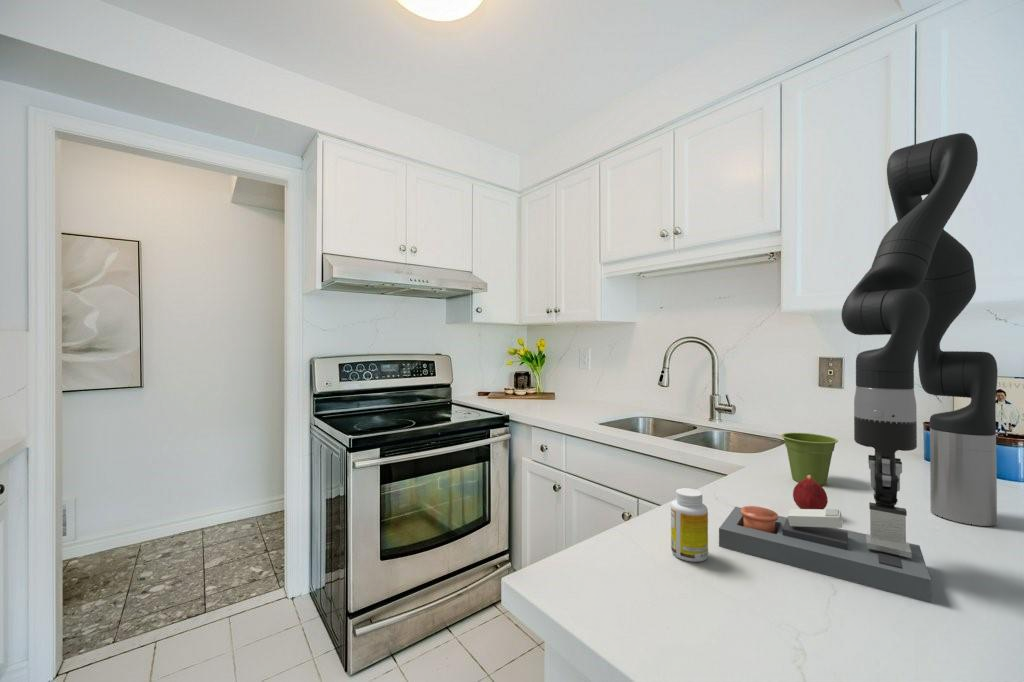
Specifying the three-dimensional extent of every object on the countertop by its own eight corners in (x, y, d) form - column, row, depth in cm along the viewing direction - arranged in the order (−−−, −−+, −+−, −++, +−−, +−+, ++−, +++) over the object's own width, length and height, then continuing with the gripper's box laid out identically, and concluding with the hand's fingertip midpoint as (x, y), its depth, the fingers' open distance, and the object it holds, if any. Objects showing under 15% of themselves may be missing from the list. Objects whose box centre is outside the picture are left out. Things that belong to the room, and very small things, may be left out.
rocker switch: (792, 518, 74) (789, 507, 74) (842, 520, 70) (839, 508, 70) (789, 526, 71) (787, 514, 71) (842, 528, 67) (839, 515, 67)
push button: (744, 527, 79) (744, 503, 79) (780, 536, 76) (779, 511, 76) (737, 538, 75) (737, 512, 75) (775, 547, 72) (775, 520, 72)
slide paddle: (866, 538, 69) (865, 499, 69) (908, 548, 65) (908, 506, 66) (866, 548, 65) (866, 506, 66) (911, 558, 62) (911, 514, 62)
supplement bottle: (715, 559, 69) (715, 494, 69) (690, 566, 67) (690, 499, 67) (687, 544, 74) (687, 484, 74) (663, 551, 72) (663, 489, 72)
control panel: (735, 522, 84) (735, 501, 84) (919, 564, 68) (919, 538, 68) (719, 546, 73) (718, 522, 74) (931, 602, 57) (930, 572, 57)
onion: (833, 522, 84) (833, 480, 84) (800, 519, 85) (800, 478, 85) (818, 511, 90) (818, 472, 90) (788, 509, 91) (787, 470, 91)
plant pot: (770, 476, 114) (770, 433, 114) (807, 473, 117) (806, 431, 117) (811, 490, 103) (811, 443, 103) (850, 487, 105) (850, 440, 106)
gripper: (921, 424, 61) (922, 548, 61) (912, 413, 72) (913, 519, 71) (853, 418, 66) (854, 533, 66) (854, 409, 76) (854, 508, 76)
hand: (885, 526), depth 68 cm, fingers closed
